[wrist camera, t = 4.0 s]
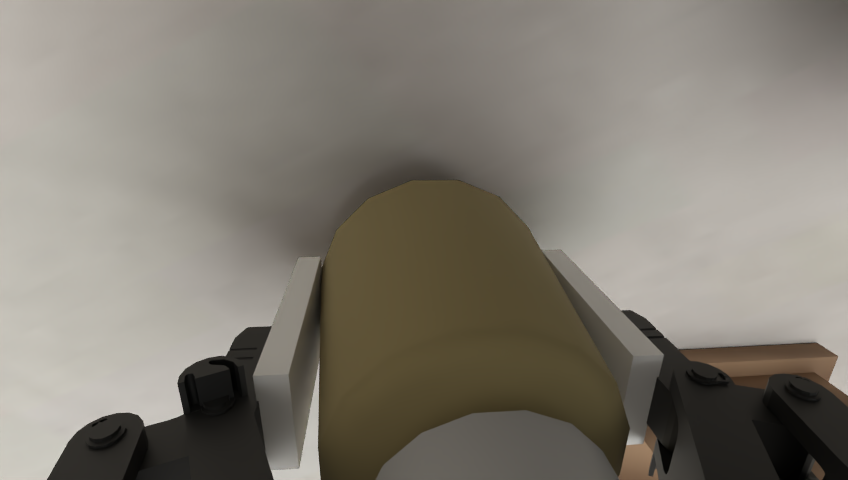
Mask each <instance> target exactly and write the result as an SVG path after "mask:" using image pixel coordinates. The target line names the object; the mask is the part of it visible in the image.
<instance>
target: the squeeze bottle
mask: <svg viewBox="0 0 848 480" xmlns="http://www.w3.org/2000/svg"><path fill="white" fill-rule="evenodd" d="M629 431H630V426H629V423H628V419H627V416H626V413H625V409H624V406H623V402H622V399H621V395H620V392H619V388H618V385H617V382H616V380H615V379H614V377H613V375H612V373H611V372H610V370H609V368H608V366H607V365H606V363H605V361H604V359H603V358H602V356H601V354H600V352H599V351H598V349H597V347H596V345H595V344H594V342H593V340H592V338H591V337H590V335H589V333H588V331H587V330H586V328H585V326H584V324H583V323H582V321H581V319H580V317H579V316H578V314H577V312H576V310H575V309H574V307H573V305H572V303H571V302H570V300H569V298H568V296H567V295H566V293H565V291H564V289H563V288H562V286H561V284H560V283H559V281H558V279H557V277H556V276H555V274H554V272H553V270H552V269H551V267H550V265H549V263H548V262H547V260H546V258H545V256H544V255H543V253H542V251H541V249H540V248H539V246H538V244H537V242H536V241H535V239H534V237H533V235H532V234H531V232H530V230H529V228H528V227H527V226H526V225H525V223H524V222H523V221H522V220H521V219H520V218H519V217H518V216H517V215H516V214H515V213H514V212H513V211H512V210H511V209H510V208H509V207H508V206H507V204H506V203H505V202H504V201H503V200H502V199H501V198H500V197H498V196H496V195H494V194H491V193H489V192H486V191H484V190H481V189H479V188H477V187H474V186H472V185H469V184H467V183H464V182H462V181H459V180H411V181H409V182H407V183H404V184H402V185H399V186H397V187H395V188H392V189H390V190H387V191H385V192H382V193H380V194H378V195H375V196H373V197H370V198H368V199H367V200H366V201H365V202H364V203H363V204H362V205H361V206H360V207H359V208H358V209H357V210H356V211H355V212H354V213H353V214H352V215H351V216H350V217H349V218H348V219H347V220H346V221H345V222H344V223H343V224H342V225H341V226H340V227H339V228H338V229H337V230H336V233H335V235H334V238H333V240H332V243H331V246H330V248H329V251H328V253H327V256H326V258H325V261H324V264H323V266H322V270H321V311H320V369H319V427H318V452H319V464H320V475H321V480H619V478H618V476H619V475H620V472H621V467H622V462H623V458H624V453H625V449H626V444H627V440H628V435H629Z"/></svg>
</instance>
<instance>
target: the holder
mask: <svg viewBox="0 0 848 480" xmlns="http://www.w3.org/2000/svg"><path fill="white" fill-rule="evenodd" d="M679 351H680V352H681V353H682V354H683V355H684V356H685V357H686V358H687V359H689V360H690V361H698V362H702V363H706V364H709V365H711V366H714V367H716V368H718V369H720V370H722V371H723V372H724V373H726V374H727V375H729V377H730V378H731V379H732V380H733V382H734V383H735V385H740V386H747V387H753V388H760V389H765V388H766V385H767V382H768V379H769V377H771V376H772V375H774V374H783V373H785V374H791V375H798V376H802V377H805V378H808V379H810V380H812V381H814V382H816V383H818V384H820V385H822V386H823V387H825V388H826V389H827V390H829V391H830V392H832V393H833V394H834V395H835V396H836V397H837V398H838V399H840V400H841V401H842V402H843V403H844V404H845V405H846V406H847V407H848V396H847V395H846V394H844V393H843V392H842V391H840V390H839V389H837V388H836V387H835V386H833V385H832V384H830V383H829V382H828V381H829V379H830V376H831V374H832V371H833V368H834V366H835V363H836V361H837V358H838V356H837V355H835V354H834V353H832V352H831V351H829V350H827V349H826V348H824V347H823V346H821V345H820V344H818V343H807V344H787V345H767V346H748V347H728V348H708V349H689V350H679ZM656 438H657V437H656V436H655V434H654V433H653V432H652V430H651V429H650V427H649V426H648V425H647V430H646V434H645V438H644V443H643V444H635V445H626V449H625V453H624V458H623V462H622V467H621V472H620V475H619V476H618V478H619V480H659V479H658V473H657V469H655V471H654V475H653V477H652V476H648V473H649V467H650V463H651V459H652V455H653V451H654V446H655V442H656ZM811 471H812V472H813V473H814V475H815V476H816V477H817V478H818V479H819V480H822V479H823V477H824V475H825V473H824V471H823V469H822V468H821V466H820V465H819V464H818V463H817V462H816V460H815V462H814V465H813V467H812V470H811Z"/></svg>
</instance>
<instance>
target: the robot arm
mask: <svg viewBox="0 0 848 480" xmlns="http://www.w3.org/2000/svg"><path fill="white" fill-rule="evenodd" d="M541 251H542V253H543V255H544V256H545V258H546V260H547V262H548V263H549V265H550V267H551V269H552V270H553V272H554V274H555V276H556V277H557V279H558V281H559V283H560V284H561V286H562V288H563V289H564V291H565V293H566V295H567V296H568V298H569V300H570V302H571V303H572V305H573V307H574V309H575V310H576V312H577V314H578V316H579V317H580V319H581V321H582V323H583V324H584V326H585V328H586V330H587V331H588V333H589V335H590V337H591V338H592V340H593V342H594V344H595V345H596V347H597V349H598V351H599V352H600V354H601V356H602V358H603V359H604V361H605V363H606V365H607V366H608V368H609V370H610V372H611V373H612V375H613V377H614V379H615V380H616V382H617V385H618V388H619V392H620V395H621V399H622V402H623V406H624V409H625V413H626V416H627V419H628V423H629V426H630V431H629V435H628V440H627V444H626V445H635V444H643V443H644V438H645V434H646V430H647V425H648V426H649V427H650V429H651V430H652V432H653V433H654V434H655V436H656V437H657V438H656V442H655V446H654V451H653V455H652V459H651V463H650V467H649V473H648V476H652V477H653V475H654V471H655V469H657V473H658V479H659V480H819V479H818V478H817V477H816V476H815V475H814V473H813V472H812V471H811V470H812V467H813V465H814V462H815V460H816V462H817V463H818V464H819V465H820V466H821V468H822V469H823V471H824V473H825V475H824V477H823V479H822V480H848V407H847V406H846V405H845V404H844V403H843V402H842V401H841V400H840V399H838V398H837V397H836V396H835V395H834V394H833V393H832V392H830V391H829V390H827V389H826V388H825V387H823V386H822V385H820V384H818V383H816V382H814V381H812V380H810V379H808V378H805V377H802V376H798V375H791V374H785V373H783V374H774V375H772V376H771V377H769V379H768V382H767V385H766V388H765V389H760V388H753V387H747V386H740V385H735V383H734V382H733V380H732V379H731V378H730V377H729V375H727V374H726V373H724V372H723V371H722V370H720V369H718V368H716V367H714V366H711V365H709V364H706V363H702V362H698V361H690V360H689V359H687V358H686V357H685V356H684V355H683V354H682V353H681V352H680V351H679V350H678V349H677V348H676V347H675V346H674V345H673V344H672V343H671V342H670V341H669V340H668V339H667V338H664V336H663V335H662V334H661V333H660V332H659V331H658V330H656V328H655V327H654V326H653V325H652V324H651V323H650V322H649V321H648V320H647V319H646V318H644V317H642V316H640V315H638V314H637V313H635V312H633V311H631V310H623V311H621V310H620V309H619V308H618V307H617V306H616V305H615V304H614V303H613V302H612V301H611V300H610V299H609V298H608V297H607V296H606V295H605V294H604V293H603V292H602V291H601V290H600V289H599V288H598V287H597V286H596V285H595V284H594V283H593V282H592V281H591V280H590V279H589V278H588V277H587V276H586V275H585V274H584V273H583V272H582V271H581V270H580V269H579V267H578V266H577V265H576V264H575V263H574V262H573V261H572V260H571V259H570V258H569V257H568V256H567V255H566V254H565V253H564V252H563V251H562V250H541ZM321 270H322V268H321V257H298V260H297V263H296V265H295V268H294V270H293V273H292V276H291V278H290V281H289V283H288V286H287V289H286V291H285V294H284V296H283V299H282V302H281V304H280V307H279V309H278V312H277V314H276V317H275V320H274V322H273V325H272V326H270V327H248V328H246V329H245V330H244V331H243V332H242V333H240V334H239V335H238V336H237V337H235V339H234V341H233V343H232V345H231V347H230V351H228V353H227V355H226V356H218V357H211V358H207V359H204V360H201V361H199V362H196V363H194V364H193V365H191V366H190V367H188V368H186V369H185V370H184V371H183V373H182V374H181V375H180V376H179V379H178V383H177V384H178V388H179V393H180V397H181V402H182V407H183V411H184V414H183V415H181V416H179V417H177V418H174V419H171V420H168V421H164V422H161V423H157V424H153V425H150V426H146V427H144V423H143V421H142V419H141V418H140V417H139V416H138V415H135V414H132V413H116V414H112V415H108V416H104V417H102V418H99V419H97V420H95V421H93V422H91V423H89V424H87V425H86V426H85V427H83V428H82V429H80V430H79V431H78V432H77V433H76V434H75V435H74V436H73V437H72V438H71V440H70V441H69V442H68V444H67V446H66V447H65V449H64V451H63V453H62V454H61V456H60V458H59V460H58V461H57V463H56V465H55V467H54V468H53V470H52V472H51V474H50V475H49V477H48V479H47V480H274V479H273V476H272V473H271V470H282V469H296V468H299V466H300V461H301V455H302V450H303V445H304V439H305V434H306V428H307V423H308V418H309V412H310V407H311V401H312V396H313V390H314V385H315V380H316V374H317V369H318V363H319V358H320V311H321Z"/></svg>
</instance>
